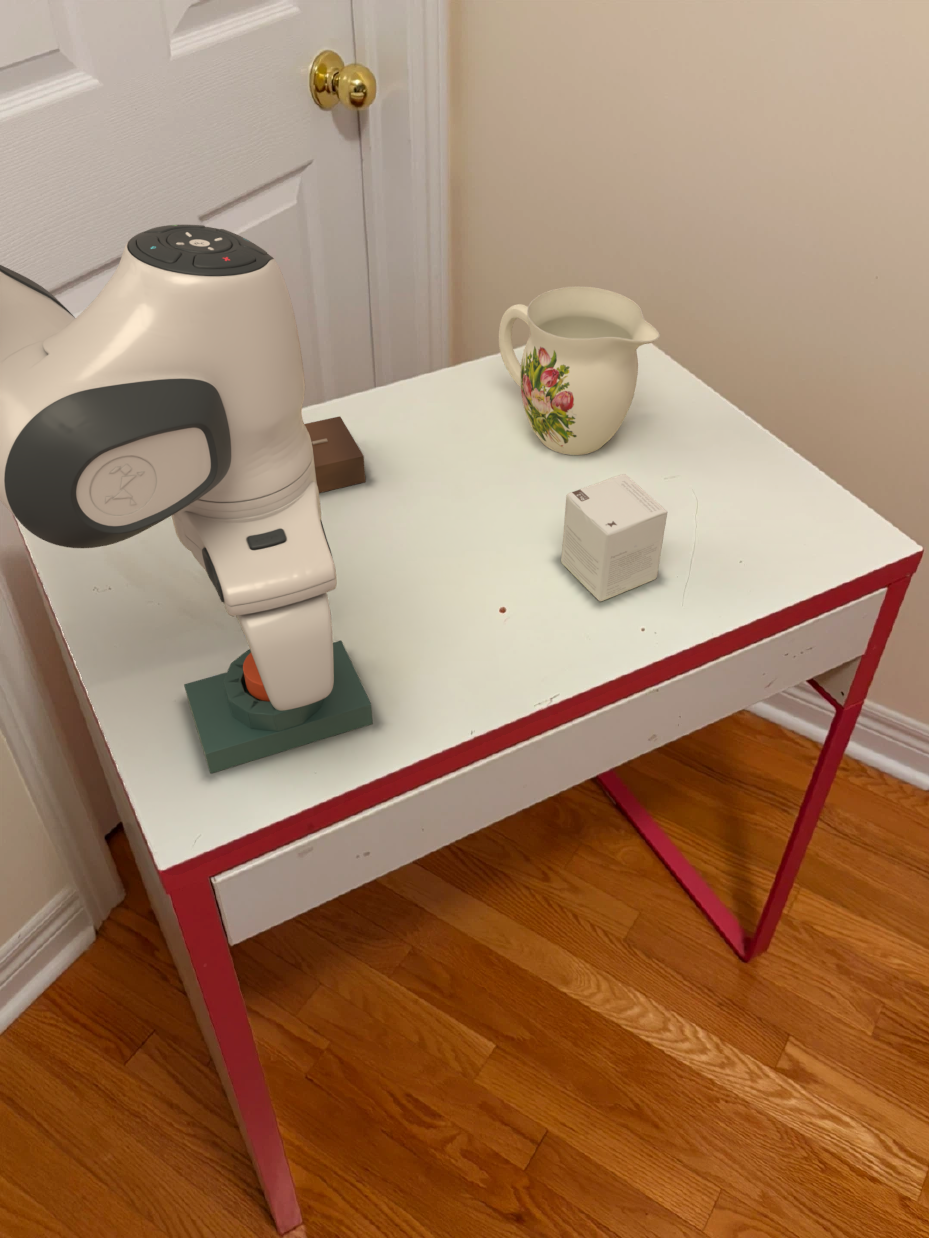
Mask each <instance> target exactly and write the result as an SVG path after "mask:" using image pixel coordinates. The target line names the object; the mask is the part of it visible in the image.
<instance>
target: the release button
mask: <svg viewBox="0 0 929 1238" xmlns="http://www.w3.org/2000/svg"><path fill="white" fill-rule="evenodd" d="M243 672H244V677H245V682H246V686H247V689H248V691H249V693H250V694H251V695H252V696H254V697H255V698H257V699H259V700H263V701H270V700H269V698H268V695H267V693H266V690H265V688H264V685H263V682H262V680H261V677H260V674H259V672H258V669H257V666H256V664H255V661H254V658H253V656H252V653H250V654H249V655H248V656H247V657H246V659H245V661H244V664H243Z"/></svg>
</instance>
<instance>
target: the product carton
mask: <svg viewBox="0 0 929 1238" xmlns="http://www.w3.org/2000/svg"><path fill="white" fill-rule="evenodd" d="M667 517H668V510H667V509H665V508H664V507H663V506H662V505H661V504H660V503H659V502H657V500H655V499H654V497H652V496H651V495H649V493H648V492H646V490H644V489H643V488H641V487H640V486H639V485H638V484H637V483H636V482H635V481H634V480H633V479H632V478H631V477H630V476H629V475H627V474H626V473H622V474H618V475H615V476H612V477H610V478H607V479H604V480H602V481H599V482H596V483H593V484H591V485H587V486H584V487H581V488H580V489H576V490H574V491H571V492H568V493H567V494H566V496H565V507H564V521H563V533H562V544H561V545H562V547H561V557H560V563H561V564H562V565H563V566H564V567H565V568H566V569H567V570H568V571H569V572H570V573H571V574H572V575H573V576H574V577H575V578H576V579H577V580H578V581H579V583H581V585H583V586H584V587H585V588H586V590H588V592H589V593H590V594H592V595H593V597H595V598H596V599H597V601H599V602H603V601H605V600H608V599H611V598H613V597H615V596H618V595H621V594H623V593H625V592H627V591H631V590H633V589H635V588H638V587H641V586H643V585H645V584H648V583H650V582H653V581H654V580H656V579H657V578H658V574H659V567H660V563H661V562H660V561H661V555H662V549H663V542H664V536H665V531H666V523H667Z"/></svg>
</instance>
